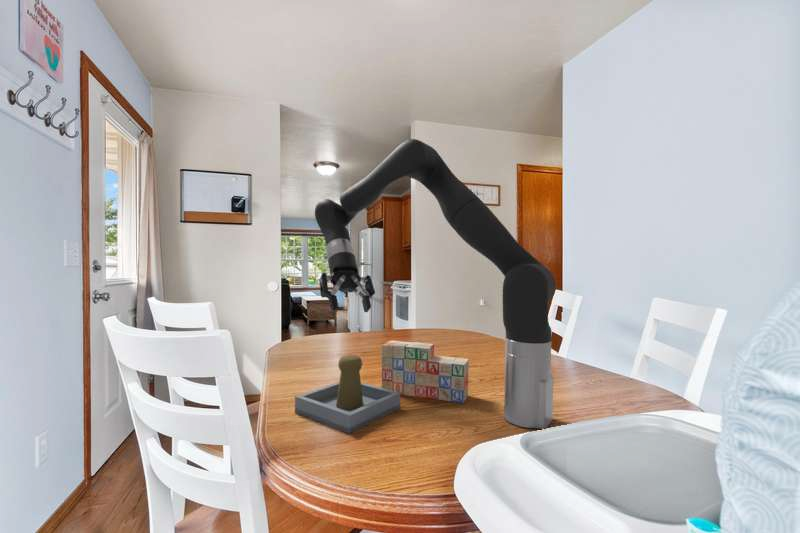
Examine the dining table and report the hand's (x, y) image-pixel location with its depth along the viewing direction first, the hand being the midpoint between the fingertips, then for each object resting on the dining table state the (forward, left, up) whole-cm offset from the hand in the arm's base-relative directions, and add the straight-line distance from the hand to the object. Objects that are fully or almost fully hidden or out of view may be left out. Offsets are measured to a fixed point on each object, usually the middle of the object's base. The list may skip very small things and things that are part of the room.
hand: (352, 310), depth 97 cm
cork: (-8, +9, -20) cm, 23 cm away
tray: (-8, +9, -21) cm, 24 cm away
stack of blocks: (-15, -11, -21) cm, 28 cm away
